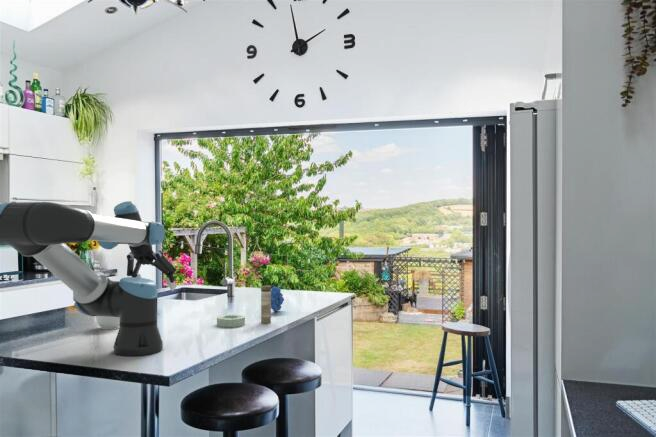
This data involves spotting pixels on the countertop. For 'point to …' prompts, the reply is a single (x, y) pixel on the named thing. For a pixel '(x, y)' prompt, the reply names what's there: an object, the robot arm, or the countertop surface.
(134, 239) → the robot arm
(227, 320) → the pale green ring
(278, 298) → the grapes
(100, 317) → the lidded jar
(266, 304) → the birch dowel
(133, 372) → the countertop surface
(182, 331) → the countertop surface
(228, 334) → the countertop surface
